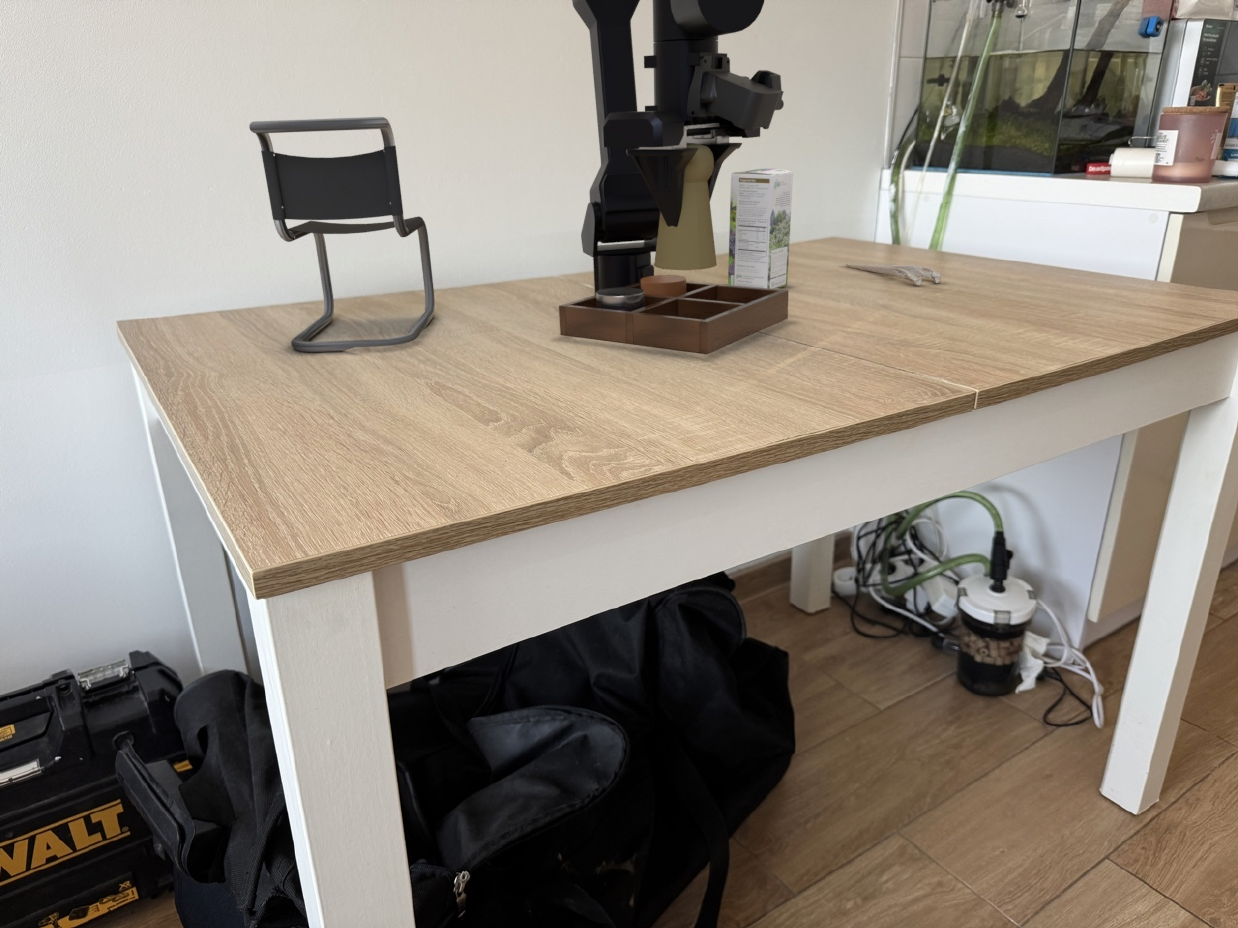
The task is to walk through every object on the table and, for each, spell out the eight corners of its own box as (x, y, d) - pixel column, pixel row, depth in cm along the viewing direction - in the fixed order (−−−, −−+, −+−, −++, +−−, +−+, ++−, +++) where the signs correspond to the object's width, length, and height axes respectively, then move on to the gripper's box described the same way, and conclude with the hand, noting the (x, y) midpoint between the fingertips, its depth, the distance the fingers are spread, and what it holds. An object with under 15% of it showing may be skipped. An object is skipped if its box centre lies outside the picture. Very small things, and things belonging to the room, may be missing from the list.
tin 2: (632, 317, 101) (631, 280, 99) (657, 308, 105) (656, 273, 103) (671, 321, 98) (670, 284, 97) (694, 312, 102) (694, 276, 100)
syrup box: (748, 283, 120) (750, 168, 115) (789, 286, 117) (793, 168, 112) (727, 290, 116) (728, 171, 111) (769, 294, 113) (772, 171, 108)
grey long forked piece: (943, 282, 116) (944, 266, 115) (913, 286, 114) (914, 270, 114) (859, 273, 132) (860, 258, 131) (832, 276, 130) (832, 262, 129)
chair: (282, 355, 92) (242, 121, 84) (327, 319, 108) (297, 120, 100) (412, 349, 92) (384, 116, 84) (437, 314, 108) (416, 116, 100)
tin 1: (587, 332, 94) (586, 294, 93) (615, 323, 98) (614, 285, 97) (627, 337, 92) (626, 298, 90) (654, 327, 96) (653, 289, 94)
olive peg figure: (650, 260, 90) (649, 143, 86) (710, 258, 90) (712, 141, 86) (658, 271, 84) (657, 145, 80) (722, 268, 85) (724, 144, 81)
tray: (560, 339, 94) (558, 305, 93) (651, 308, 107) (651, 278, 106) (707, 359, 85) (707, 322, 83) (787, 322, 98) (788, 290, 97)
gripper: (713, 32, 69) (711, 242, 75) (814, 40, 83) (806, 216, 89) (594, 41, 75) (601, 235, 81) (708, 47, 89) (707, 212, 95)
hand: (686, 224), depth 86 cm, fingers closed on olive peg figure, 4 cm apart
